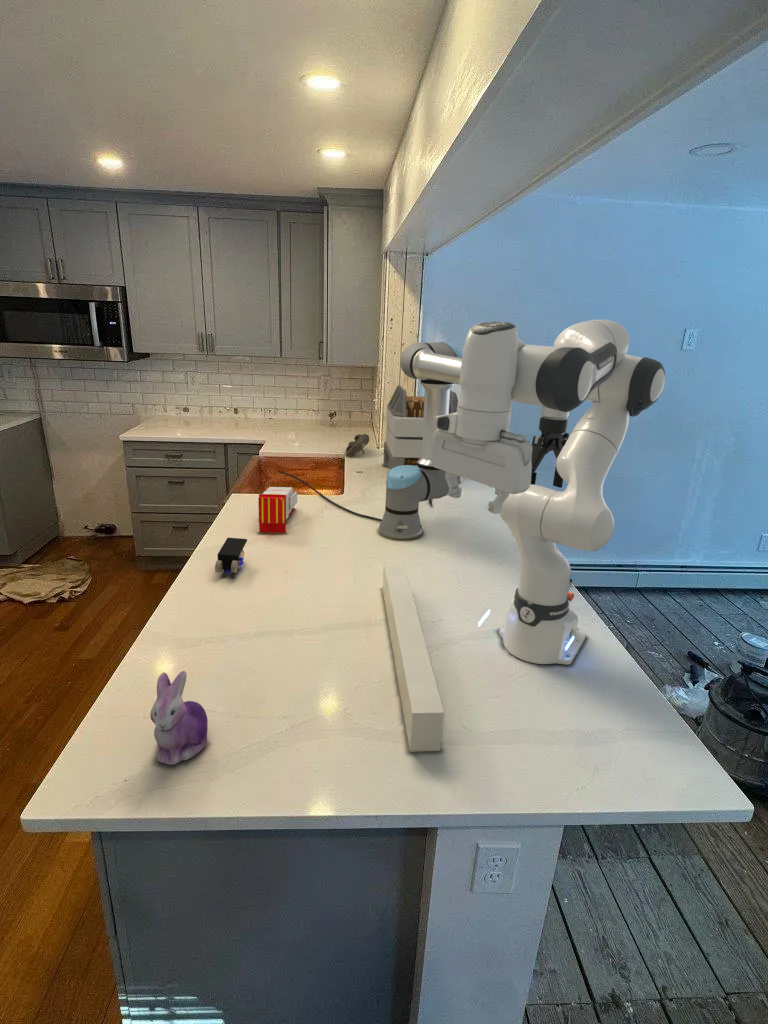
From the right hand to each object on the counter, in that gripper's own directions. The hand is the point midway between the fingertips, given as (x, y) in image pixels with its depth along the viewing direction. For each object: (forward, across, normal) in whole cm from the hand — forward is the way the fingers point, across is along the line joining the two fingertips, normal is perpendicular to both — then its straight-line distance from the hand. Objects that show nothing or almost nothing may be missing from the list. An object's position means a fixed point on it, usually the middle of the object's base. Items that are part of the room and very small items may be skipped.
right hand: (473, 504), depth 98 cm
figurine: (+44, +20, +46) cm, 67 cm away
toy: (+43, +113, -21) cm, 123 cm away
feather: (+43, +104, -89) cm, 143 cm away
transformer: (+43, +133, -109) cm, 178 cm away
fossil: (+43, +180, -105) cm, 213 cm away
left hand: (+16, +31, -65) cm, 74 cm away
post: (+43, +21, -5) cm, 48 cm away
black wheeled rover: (+43, +82, +10) cm, 94 cm away
